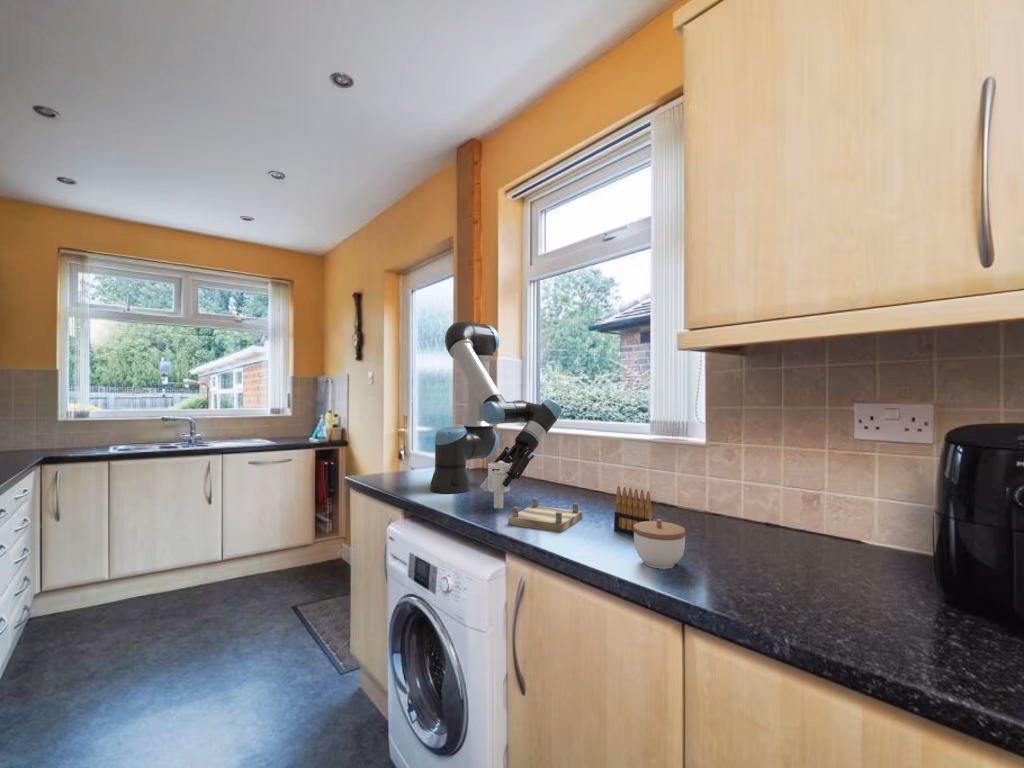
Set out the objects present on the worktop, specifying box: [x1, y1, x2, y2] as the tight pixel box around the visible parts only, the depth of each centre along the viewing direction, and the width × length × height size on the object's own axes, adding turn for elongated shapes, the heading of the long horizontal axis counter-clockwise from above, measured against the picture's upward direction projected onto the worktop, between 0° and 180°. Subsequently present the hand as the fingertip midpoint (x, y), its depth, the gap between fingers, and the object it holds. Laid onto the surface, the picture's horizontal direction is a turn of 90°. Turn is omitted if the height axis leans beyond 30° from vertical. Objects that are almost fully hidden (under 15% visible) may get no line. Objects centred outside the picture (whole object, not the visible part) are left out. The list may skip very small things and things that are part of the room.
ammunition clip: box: [613, 485, 654, 537], centre depth 123 cm, size 11×2×12 cm, turn 43°
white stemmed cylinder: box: [487, 461, 511, 510], centre depth 151 cm, size 7×7×15 cm
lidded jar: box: [633, 518, 687, 570], centre depth 101 cm, size 11×11×9 cm
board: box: [507, 497, 583, 533], centre depth 135 cm, size 16×16×4 cm
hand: (489, 491), depth 149 cm, fingers closed on white stemmed cylinder, 7 cm apart
